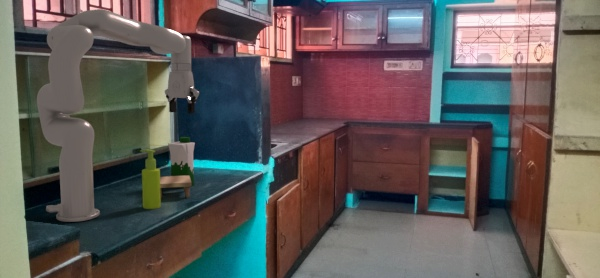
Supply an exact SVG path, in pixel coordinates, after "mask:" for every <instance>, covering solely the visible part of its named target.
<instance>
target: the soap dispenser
mask: <svg viewBox="0 0 600 278" xmlns="http://www.w3.org/2000/svg"><path fill="white" fill-rule="evenodd" d="M139 151H140V152H141V153H143V152H144V153H147V158H146V159H145V168H144V169H142V170H141V180H142V184H141V186H142V208H143V209H145V210H156V209H159V208H161V207H162V205H161V204H162V203H161V201H162V199H161V197H160V177H161V169H160V168H157V160H156V158H155V157H154V153H156V149H155V150H154V149H150V148H145V149H141V150H139Z"/></svg>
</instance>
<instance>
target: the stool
mask: <svg viewBox="0 0 600 278" xmlns="http://www.w3.org/2000/svg"><path fill="white" fill-rule="evenodd" d="M178 187H184V188H183V192H184V197H185V199H188V198H190V197H191V196H190V192H191V190H190V187H192V182H191V179H190V176H189V175H187V176H171V175H168V176H167V175H166V176H165V175H164V176H160V197H161V200H162V199H163V192H162V189H163V188H164V189H166V188H178Z"/></svg>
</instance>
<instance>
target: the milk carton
mask: <svg viewBox="0 0 600 278" xmlns="http://www.w3.org/2000/svg"><path fill="white" fill-rule="evenodd" d="M167 144H168V149H169V154H170V156H169V157H170V176H187V175H189V176H190V179H191V182H192V186H195V175H194V172H195V171H194V150H195V144H196V143H195V142H192V141H191V137H190V136H180V137H179V141H173V142H169V143H167ZM192 186H191V187H192ZM177 188H178V189H184V187H177Z"/></svg>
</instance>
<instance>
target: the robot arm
mask: <svg viewBox="0 0 600 278" xmlns="http://www.w3.org/2000/svg"><path fill="white" fill-rule="evenodd" d="M94 37H103V38H106V39H109V40H114V41H117V42H121V43H123V44H126V45H130V46H136V47H149V48H150V50H151V51H152V52H153V53H155V54H158V55H170V70H171V71H169V74H168V81H167V88H166V89H165V90H164V94H165V98H166V99H167V102H168V104H169V105H168V110H169V111H168V112H169V113H176V112H177V101H176V100H177V98H178V99H186V100H187V105H186V106H187V114H190V115H191V114H195V113H196V112H195V111H196V110H195V109H196V108H195V104H196V103H197V101H198V99H199V95H200V91H198V89H196V88H195V81H194V74H193V71H192V40H191V37H190V36H188V35H184V34H183V35H182V34H181V33H179V32H178V31H176V30H173V29H169V28H167V27H165V26H162V25H161V26H160V25H156V24H150V23H147V22H143V21H138V20H135V19H132V18H129V17H127V16H124V15H121V14H119V13H115V12H113V11H111V10H110V11H109V10H107V9H101V8H100V9H98V8H97V9H89V10H88V9H87V10H84V11H82V12H79V13H77V14H75V15H73V16H72V17H70V18H68V19H66V20H64V21H62V22H61V23H59V24H58V25H55V26H54V27H52V28H50V30H49V31H48V33H47V36H46V43H47V45H48V47H49V48H50V49H51V52H50V55H49V58H48V63H47V65H48V66H47V67H48V69H47V70H48V78H49V83H46V84H44V85H43V86H42V87H41V88H39V90H38V92H37V96H36V105H37V106H36V107H37V110H38V116H39V121H40V126H41V130H42V131H41V132H42V134H43V137H44V138H45V140H46V141H47V142H48V143H50V144H51V145H54V146H57V147H61V150H60V155H59V160H58V165H59V166H58V168H59V185H60V203H57V204H54V205H53V204H49V205H46V206H45V207H46V208H45V211H46V212H48V213H57V214H55V215H56V218H55V219H56V220H57V221H60V222H64V223H71V222H72V223H73V222H74V223H75V222H76V223H77V222H83V221H84V222H86V221H88V220H89V221H90V220H93V219H95V218H98V217H99V216H100V215H101V213H100V212H101V211H100V210H99V209H98V208H95V193H94V192H95V191H94V171H93V170H94V169H93V168H94V167H93V150H94V144H95V143H94V142H95V130H94V128H93V126H92V124H91V123H89V121H87V120H85V119H83V118H80V117H71V116H70V115H75V114H77V113H80V112H81V111H82V110H83V108H84V106H85V97H84V91H83V84H82V80H81V79H82V78H81V72H80V65H81V61H82V58H83V57H84V56H85V54H86V53H87V52H88V51H89V50H90V49H91V48H92V46H93V44H94V40H95V39H94Z"/></svg>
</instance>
